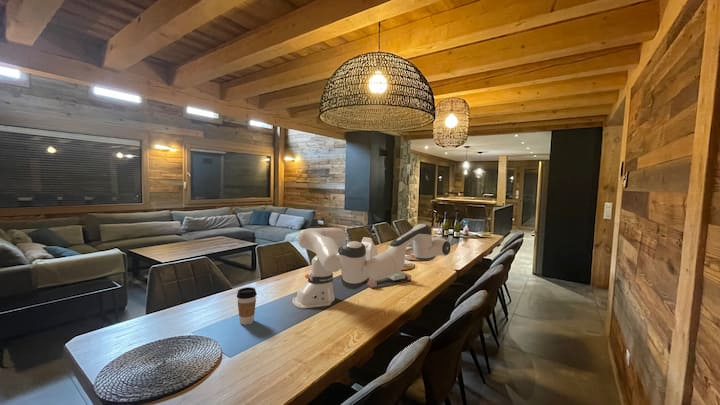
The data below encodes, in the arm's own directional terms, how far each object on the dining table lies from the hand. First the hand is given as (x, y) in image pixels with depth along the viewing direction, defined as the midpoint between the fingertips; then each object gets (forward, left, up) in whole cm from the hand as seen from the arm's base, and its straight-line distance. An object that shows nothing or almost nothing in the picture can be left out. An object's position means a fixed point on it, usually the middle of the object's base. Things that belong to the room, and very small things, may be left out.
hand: (410, 239), depth 176 cm
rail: (-2, +18, -31) cm, 36 cm away
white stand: (+4, +18, -28) cm, 34 cm away
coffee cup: (-90, +5, -31) cm, 95 cm away
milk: (-6, +37, -31) cm, 49 cm away
